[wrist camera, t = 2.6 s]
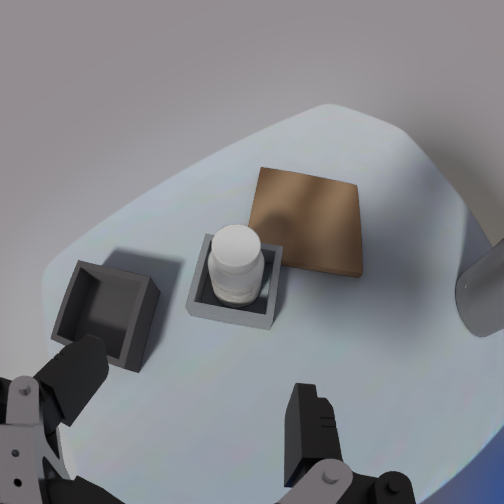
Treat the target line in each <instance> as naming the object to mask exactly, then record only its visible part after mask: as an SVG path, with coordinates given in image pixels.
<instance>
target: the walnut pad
mask: <svg viewBox="0 0 504 504" xmlns="http://www.w3.org/2000/svg"><path fill="white" fill-rule="evenodd" d="M248 227H249V228H251V229H252V230H253V231H255V232H256V234H257V235H258V237H259V239H260V243H265V244H271V245H277V246H283V250H282V258H281V265H284V266H290V267H296V268H302V269H309V270H315V271H321V272H327V273H333V274H340V275H346V276H352V277H358V278H359V277H360V276H361V275H362V274H363V266H362V241H361V224H360V211H359V200H358V190H357V185H353V184H349V183H344V182H340V181H335V180H330V179H325V178H320V177H315V176H310V175H305V174H299V173H294V172H288V171H282V170H276V169H270V168H263V167H261V169H260V173H259V178H258V183H257V187H256V192H255V197H254V201H253V206H252V211H251V215H250V220H249V225H248Z"/></svg>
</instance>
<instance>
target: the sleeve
mask: <svg viewBox="0 0 504 504" xmlns="http://www.w3.org/2000/svg"><path fill="white" fill-rule="evenodd" d="M214 236H215V235H210V234H205V238H204V241H203V245H202V248H201V251H200V255H199V258H198V262H197V265H196V269H195V273H194V276H193V280H192V283H191V287H190V291H189V295H188V298H187V302H186V306H185V307H186V309H187V311H188V313H189V314H190V315H191V316H195V317H200V318H205V319H210V320H215V321H220V322H225V323H231V324H236V325H242V326H248V327H254V328H260V329H266V330H270V327H271V325H272V323H273V316H274V309H275V302H276V295H277V288H278V280H279V273H280V265H281V258H282V250H283V246H277V245H271V244H265V243H261V252H262V254H263V257H264V262H266V263H272V264H273V265H272V271H271V278H270V285H269V291H268V298H267V304H266V311H265V314H259V313H253V312H247V311H241V310H235V309H230V308H224V307H219V306H214V305H209V304H203V303H200V300H201V296H202V292H203V288H204V284H205V280H206V276H207V273H208V258H209V255H210V252H211V251H212V240H213V238H214Z"/></svg>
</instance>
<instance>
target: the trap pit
mask: <svg viewBox="0 0 504 504" xmlns="http://www.w3.org/2000/svg"><path fill="white" fill-rule="evenodd" d="M159 295H160V291H159V289H158V288H157V286H156V285H155V283H154V282H153V280H152V279H151V277H149V276H144V275H139V274H135V273H130V272H126V271H122V270H117V269H113V268H109V267H104V266H100V265H96V264H92V263H88V262H84V261H80V260H78V262H77V265H76V267H75V269H74V272H73V274H72V277H71V279H70V282H69V285H68V287H67V290H66V293H65V295H64V298H63V301H62V304H61V307H60V310H59V313H58V316H57V319H56V322H55V325H54V329H53V332H52V336H51V339H52V340H54V341H56V342H58V343H61V344H63V345H65V346H66V345H68V344H71V343H73V342H75V341H77V342H78V341H80V340H81V339H82V338H83V337H84V336H85V335H86V334H90V335H93V336H95V337H98V338H101V339H103V340H104V342H105V347H106V353H107V359H108V363H109V364H112V365H115V366H118V367H121V368H123V369H127V370H130V371H133V372H137V373H139V370H140V365H141V361H142V357H143V353H144V349H145V345H146V341H147V338H148V334H149V330H150V326H151V323H152V319H153V316H154V312H155V309H156V305H157V302H158V298H159Z"/></svg>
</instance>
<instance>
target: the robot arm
mask: <svg viewBox="0 0 504 504" xmlns="http://www.w3.org/2000/svg"><path fill="white" fill-rule="evenodd" d="M456 302H457V307H458V310H459V314H460V316H461V318H462V320H463V322H464V324H465V325H466V327H467V328H468V329H469V330H470V331H471V332H472V333H473V334H475V335H476V336H479V337H486V336H489V335H491V334H493V333H495V332H497V331H500V330H502V329H504V238H503V239H502V240H501V241H500V242H499V243H498V244H497V245H496V246H494V247H493V248H492V249H491V250H490V251H489V252H487V253H486V254H485V255H484V256H483V257H481V258H480V259H479V260H478V261H477V262H475V263H474V264H473V265H472V266H470V267H469V268H468V269H467V270H465V271H464V272H463V273H462V274H461V275H460V277H459V279H458V281H457V285H456ZM108 371H109V365H108V359H107V353H106V347H105V342H104V340H103V339H101V338H98V337H95V336H93V335H90V334H86V335H85V336H84V337H83V338H82V339H81V340H80V341H78V342H77V341H75V342H73V343H71V344H68V345H66V346H65V347H64V348H63V349H62V350H61V351H60V352H59V354H57V355H55V356H54V359H51V360H50V361H49V362H48V363H47V364H46V365H45V366H44V367H43V368H42V369H41V370H40V371H39V372H38V373H37V374H36V375H35V376H34V377H30V376H20V377H17V378H16V379H14V380H13V381H11V380H8V379H5V378H1V377H0V504H125V503H123V502H122V501H120V500H119V499H117V498H116V497H114V496H113V495H112V494H110V493H109V492H107V491H106V490H105V489H103V488H101V487H99V486H97V485H95V484H93V483H91V482H89V481H87V480H85V479H83V478H81V477H79V476H76V478H75V479H74V480H70V477H69V474H68V472H67V470H66V468H65V465H64V460H63V455H62V448H61V441H60V433H59V428H58V425H59V424H60V422H62V423H63V424H65V425H67V426H69V427H70V426H71V425H72V423H73V422H74V421H75V419H76V418H77V417H78V415H79V414H80V413H81V411H82V410H83V408H84V407H85V406H86V404H87V403H88V402H89V400H90V399H91V398H92V396H93V395H94V394H95V393H96V391H97V390H98V389H99V387H100V386H101V385H102V383H103V382H104V381H105V379H106V378H107V375H108ZM284 487H290V488H292V489H291V490H290V491H289V492H288V493H287V494H285V495H284V496H283V497H282V498H281V499H280V500H279V501H278V502H277V503H275V504H416V502H415V497H414V493H413V488H412V484H411V481H410V480H409V478H408V477H407V476H406V475H404V474H403V473H400V472H396V471H390V472H386V473H384V474H382V475H381V476H380V477H379V478H376V477H371V476H365V475H360V474H357V473H355V472H353V471H351V469H350V467H349V466H348V465H347V464H345V463H344V462H343V459H342V455H341V449H340V443H339V437H338V432H337V428H336V421H335V415H334V410H333V407H332V405H331V404H330V403H329V401H328V400H327V398H319V397H317V391H316V386H315V385H314V384H304V383H296V384H295V386H294V389H293V392H292V395H291V398H290V401H289V403H288V406H287V409H286V414H285V456H284Z"/></svg>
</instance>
